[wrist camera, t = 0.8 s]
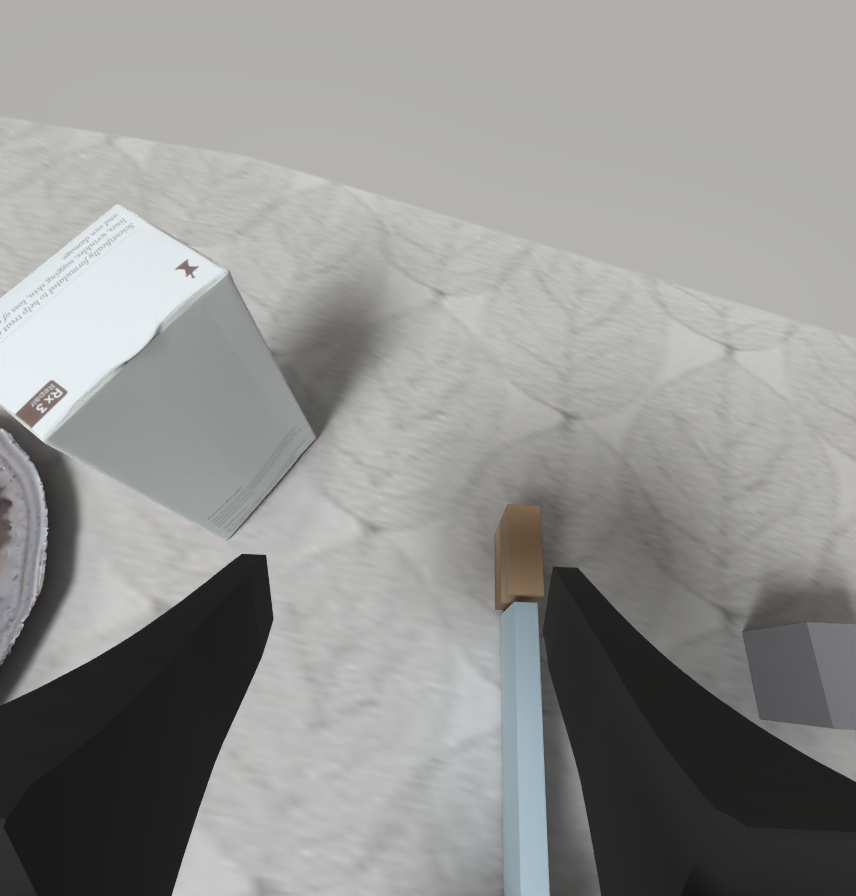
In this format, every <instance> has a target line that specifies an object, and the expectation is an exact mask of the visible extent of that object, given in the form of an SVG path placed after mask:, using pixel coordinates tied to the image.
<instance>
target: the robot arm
mask: <svg viewBox="0 0 856 896" xmlns="http://www.w3.org/2000/svg"><path fill="white" fill-rule="evenodd" d="M272 622H273V611H272V602H271V594H270V585H269V576H268V568H267V559H266V555H254V554H241V555H240V556H239V557H237V558H236V559H235V560H233V561H232V562H231V563H229V564H228V565H227V566H226V567H224V568H223V569H222V570H221V571H219V572H218V573H217V574H216V575H214V576H213V577H212V578H211V579H209V580H208V581H207V582H206V583H204V584H203V585H202V586H200V587H199V588H198V589H196V590H195V591H194V592H193V593H191V594H190V595H189V596H187V597H186V598H185V599H184V600H182V601H181V602H180V603H178V604H177V605H175V606H174V607H173V608H171V609H170V610H168V611H167V612H166V613H164V614H163V615H161V616H160V617H159V618H157V619H156V620H154V621H153V622H151V623H150V624H149V625H147V626H146V627H144V628H143V629H142V630H140V631H139V632H137V633H135V634H134V635H132V636H131V637H129V638H128V639H126V640H125V641H123V642H121V643H120V644H118V645H116V646H115V647H113V648H111V649H110V650H108V651H106V652H105V653H103V654H101V655H100V656H98V657H96V658H95V659H93V660H91V661H89V662H88V663H86V664H84V665H82V666H80V667H78V668H76V669H74V670H72V671H70V672H69V673H67V674H65V675H63V676H61V677H59V678H57V679H55V680H53V681H51V682H49V683H48V684H46V685H44V686H42V687H40V688H38V689H36V690H34V691H31V692H29V693H27V694H25V695H23V696H21V697H19V698H17V699H14V700H12V701H10V702H8V703H6V704H3V705H1V706H0V896H172V892H173V889H174V886H175V882H176V879H177V876H178V872H179V869H180V866H181V863H182V859H183V856H184V853H185V850H186V847H187V844H188V841H189V838H190V835H191V831H192V828H193V825H194V822H195V819H196V816H197V813H198V810H199V807H200V804H201V801H202V798H203V795H204V793H205V790H206V787H207V784H208V781H209V778H210V775H211V772H212V769H213V766H214V764H215V761H216V759H217V756H218V754H219V751H220V749H221V746H222V744H223V742H224V740H225V737H226V735H227V733H228V731H229V729H230V726H231V724H232V722H233V720H234V718H235V715H236V713H237V711H238V709H239V707H240V704H241V702H242V700H243V698H244V696H245V693H246V691H247V689H248V687H249V685H250V682H251V680H252V678H253V676H254V673H255V671H256V669H257V667H258V664H259V662H260V660H261V658H262V655H263V652H264V648H265V645H266V642H267V639H268V636H269V632H270V629H271V626H272ZM543 634H544V641H545V647H546V654H547V659H548V665H549V670H550V674H551V678H552V681H553V685H554V688H555V692H556V695H557V699H558V702H559V706H560V709H561V712H562V716H563V719H564V723H565V726H566V730H567V733H568V736H569V740H570V743H571V747H572V750H573V754H574V757H575V761H576V765H577V769H578V773H579V777H580V781H581V786H582V791H583V796H584V801H585V807H586V812H587V817H588V822H589V827H590V833H591V839H592V844H593V850H594V855H595V861H596V867H597V872H598V878H599V884H600V890H601V896H856V782H855V781H853V780H851V779H849V778H847V777H845V776H844V775H842V774H840V773H838V772H836V771H834V770H832V769H830V768H829V767H827V766H825V765H823V764H821V763H819V762H817V761H815V760H814V759H812V758H810V757H808V756H807V755H805V754H803V753H802V752H800V751H798V750H797V749H795V748H793V747H792V746H790V745H788V744H786V743H785V742H783V741H781V740H780V739H778V738H776V737H775V736H773V735H772V734H770V733H768V732H767V731H765V730H764V729H762V728H761V727H759V726H757V725H756V724H754V723H753V722H751V721H750V720H748V719H747V718H745V717H744V716H742V715H741V714H740V713H738V712H737V711H735V710H734V709H732V708H731V707H729V706H728V705H726V704H725V703H724V702H722V701H721V700H719V699H718V698H717V697H715V696H714V695H712V694H711V693H710V692H708V691H707V690H706V689H704V688H703V687H702V686H700V685H699V684H698V683H697V682H695V681H694V680H693V679H692V678H690V677H689V676H688V675H687V674H685V673H684V672H683V671H682V670H680V669H679V668H678V667H677V666H675V665H674V664H673V663H672V662H671V661H670V660H668V659H667V658H666V657H665V656H664V655H663V654H662V653H660V652H659V651H658V650H657V649H656V648H655V647H654V646H653V645H652V644H651V643H650V642H648V641H647V640H646V639H645V638H644V637H643V636H642V635H641V634H640V633H639V632H638V631H637V630H636V629H635V628H634V627H633V626H632V625H631V624H630V623H629V622H628V621H627V620H626V619H625V618H624V617H623V616H622V615H621V614H620V613H619V612H618V611H617V610H616V609H615V608H614V607H613V606H612V605H611V604H610V603H609V602H608V601H607V599H606V598H605V597H604V596H603V595H602V594H601V593H600V592H599V591H598V590H597V589H596V587H595V586H594V585H593V584H592V583H591V582H590V581H589V580H588V579H587V578H586V576H585V575H584V574H583V573H582V572H581V571H580V570H579V569H578V568H567V567H553V570H552V577H551V583H550V589H549V596H548V602H547V608H546V614H545V621H544V627H543Z"/></svg>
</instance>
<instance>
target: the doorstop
mask: <svg viewBox="0 0 856 896" xmlns="http://www.w3.org/2000/svg"><path fill="white" fill-rule="evenodd" d="M742 632H743V637H744V642H745V647H746V652H747V657H748V662H749V667H750V672H751V677H752V682H753V687H754V692H755V697H756V702H757V707H758V712H759V717H760V719H763V720H771V721H779V722H787V723H795V724H803V725H811V726H818V727H826V728H835V729H853V730H856V624H843V623H821V622H802V623H795V624H789V625H782V626H776V627H769V628H762V629H756V630H749V631H742Z"/></svg>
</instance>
